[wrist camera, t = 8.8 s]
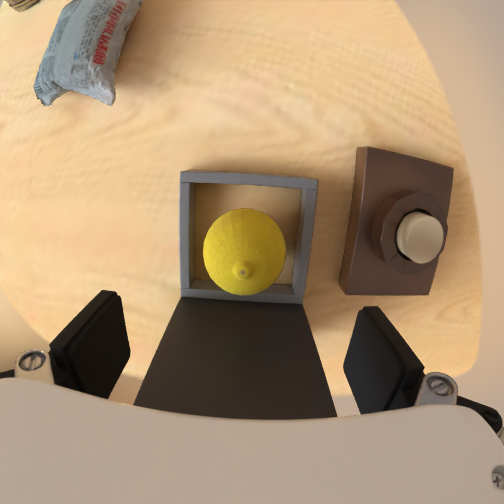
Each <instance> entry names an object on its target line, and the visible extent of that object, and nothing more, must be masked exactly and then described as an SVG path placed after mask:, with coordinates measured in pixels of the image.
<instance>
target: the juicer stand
mask: <svg viewBox="0 0 504 504" xmlns="http://www.w3.org/2000/svg"><path fill="white" fill-rule="evenodd" d="M195 183H222V184H242V185H258V186H272V187H285V188H297V189H302V193H301V204H300V214H299V223H298V233H297V242H296V251H295V259H294V267H293V275H292V283H291V285H285V284H272V285H270V286H269V287H268V288H267V289H265V290H263V291H261V292H259V293H256V294H252V295H237V294H232V293H230V292H227V291H225V290H223V289H222V288H221V287H219V286H218V285H217V284H216V283H215V282H214V281H213V280H201V279H194V204H195ZM317 187H318V180H317V179H314V178H308V177H298V176H287V175H275V174H261V173H246V172H226V171H193V170H186V171H181V172H180V195H179V250H180V284H181V298H180V300H179V302H178V304H177V307H176V309H175V311H174V313H173V315H172V317H171V319H170V322H169V324H168V326H167V328H166V330H165V333H164V335H163V337H162V339H161V341H160V344H159V346H158V348H157V350H156V353H155V355H154V357H153V359H152V362H151V364H150V366H149V369H148V371H147V373H146V376H145V378H144V380H143V383H142V385H141V387H140V390H139V392H138V395H137V397H136V399H135V402H134V404H133V405H134V406H139V407H144V408H149V409H155V410H161V411H167V412H174V413H181V414H189V415H197V416H206V417H217V418H231V419H252V420H298V419H319V418H333V417H337V414H336V410H335V407H334V403H333V400H332V396H331V393H330V390H329V386H328V383H327V380H326V376H325V373H324V370H323V367H322V363H321V360H320V357H319V354H318V351H317V348H316V344H315V341H314V338H313V335H312V332H311V329H310V326H309V323H308V320H307V316H306V313H305V310H304V307H303V304H302V303H303V298H304V291H305V285H306V278H307V271H308V264H309V257H310V249H311V241H312V233H313V225H314V216H315V207H316V198H317Z"/></svg>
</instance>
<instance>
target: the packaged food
mask: <svg viewBox="0 0 504 504" xmlns="http://www.w3.org/2000/svg"><path fill="white" fill-rule="evenodd" d="M143 1H144V0H72V1H71V2H70V3H69V4H67V5H66V6H65V7H64V8H63V9H62V11H61V13H60V16H59V18H58V21H57V24H56V27H55V29H54V32H53V35H52V37H51V39H50V41H49V45H48V48H47V50H46V52H45V54H44V57H43V59H42V62H41V64H40V66H39V71H38V73H37V76H36V80H35V84H34V90H35V93H36V96H37V99H40V100H41V101H42V104H43V105H44V106H49V105H51V104H52V102H53V101H54V100H55V99H56V98H57V97H60V96H61V95H63V94H64V93H66V92H68V91H71V90H74V91H77V92H79V93H82V94H85V95H88V96H90V97H93V98H95V99H97V100H99V101H101V102H103V103H106V104H107V105H110V106H112V105H113V104H114V101H115V98H116V97H115V95H116V93H115V74H116V70H117V65H118V60H119V56H120V53H121V48H122V45H123V43H124V41H125V36H126V33H127V31H128V29H129V27H130V25H131V23H132V21H133V19H134V17H135V15H136V13H137V11H138V9H139V8H140V6H141V4H142V2H143Z"/></svg>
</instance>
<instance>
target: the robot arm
mask: <svg viewBox="0 0 504 504" xmlns="http://www.w3.org/2000/svg"><path fill="white" fill-rule="evenodd" d="M49 346H50V348H51V350H50V351H49V353H47V352H46V351H45V350H43V349H40V348H31V349H28V350H25V351H24V352H22V353H21V354H20V355H19V356H18V357H17V358H16V360H15V369H13V370H9V371H5V372H1V373H0V504H504V427H503V426H502V425H503V424H502V418H501V416H500V415H499V413H498V412H497V411H496V410H495V409H493V408H491V407H488V406H485V405H482V404H480V403H477V402H474V401H471V400H469V399H466V398H463V397H461V396H458V395H457V394H458V386H457V384H456V382H455V381H454V380H453V379H452V378H451V377H450V376H448V375H446V374H444V373H440V372H431V373H428V374H427V375H425V374H424V372H423V370H424V368H425V367H424V366H423V364H422V363H421V362H420V360H419V359H418V357H417V356H416V355H415V353H414V352H413V351H412V349H411V348H410V347H409V345H408V344H407V343H406V341H405V340H404V339H403V337H402V336H401V335H400V333H399V332H398V331H397V330H396V328H395V327H394V326H393V324H392V323H391V322H390V321H389V319H388V318H387V317H386V315H385V314H384V313H383V312H382V310H381V309H380V308H379V307H378V306H365V307H363V309H362V310H359V312H358V315H357V318H356V322H355V326H354V330H353V333H352V337H351V340H350V344H349V347H348V351H347V354H346V357H345V360H344V365H343V369H344V373H345V375H346V378H347V380H348V383H349V385H350V388H351V390H352V393H353V395H354V398H355V400H356V403H357V406H358V408H359V411H360V413H361V415H354V416H344V417H333V418H319V419H298V420H252V419H231V418H217V417H206V416H197V415H189V414H181V413H174V412H167V411H161V410H155V409H149V408H144V407H139V406H134V405H129V404H124V403H120V402H116V401H112V400H108V398H109V396H110V394H111V392H112V390H113V388H114V386H115V384H116V382H117V380H118V378H119V377H120V375H121V373H122V371H123V369H124V367H125V365H126V364H127V362H128V360H129V358H130V346H129V341H128V336H127V331H126V325H125V319H124V313H123V307H122V300H121V297H120V296H118V295H117V293H116V292H115V291H107V290H102V291H101V292H100V293H99V294H98V295H97V296H96V297H95V298H94V299H93V300H91V301H90V302H89V303H88V304H87V305H86V307H85V308H84V309H83V310H82V311H81V312H80V313H79V314H78V315H77V316H76V317H75V318H74V319H73V320H72V321H71V322H70V323H69V324H68V325H67V326H66V327H65V328H64V329H63V330H62V331H61V332H60V334H59V335H58V336H57V337H56V338H55V339H54V340H53V341H52V342H51V343H50V344H49Z"/></svg>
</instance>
